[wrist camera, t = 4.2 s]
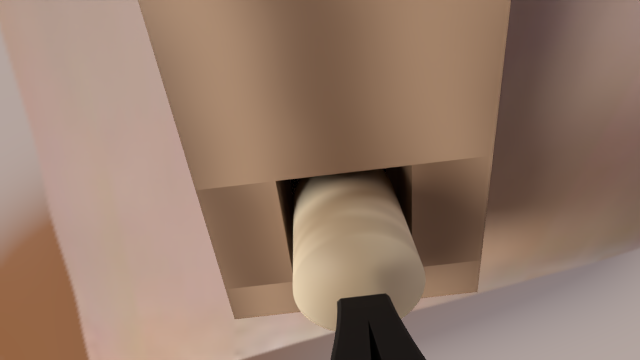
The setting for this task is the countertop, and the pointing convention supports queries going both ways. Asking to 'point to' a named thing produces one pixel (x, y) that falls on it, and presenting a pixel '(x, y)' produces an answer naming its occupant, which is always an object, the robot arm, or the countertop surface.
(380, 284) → the peg
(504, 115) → the countertop surface
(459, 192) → the collar bar
